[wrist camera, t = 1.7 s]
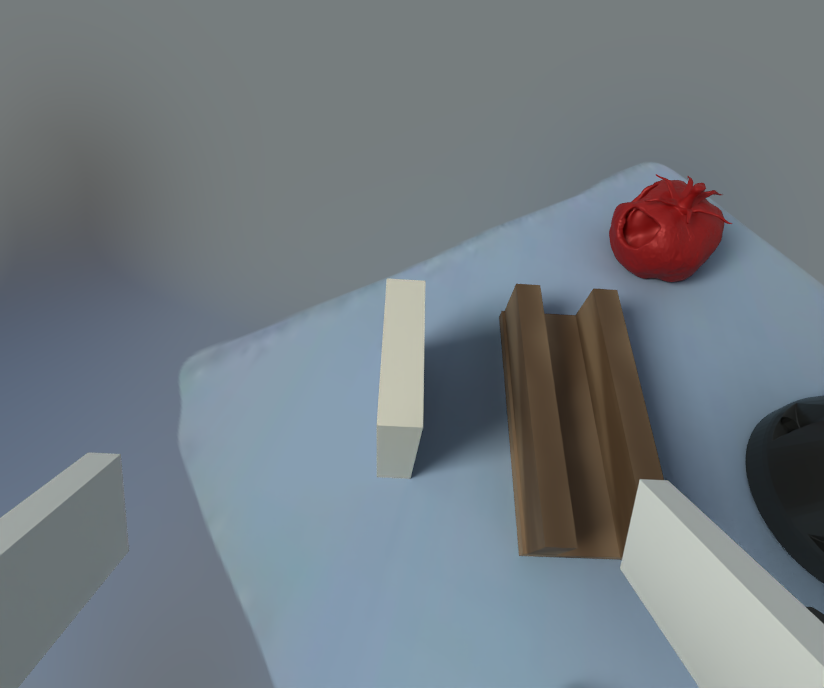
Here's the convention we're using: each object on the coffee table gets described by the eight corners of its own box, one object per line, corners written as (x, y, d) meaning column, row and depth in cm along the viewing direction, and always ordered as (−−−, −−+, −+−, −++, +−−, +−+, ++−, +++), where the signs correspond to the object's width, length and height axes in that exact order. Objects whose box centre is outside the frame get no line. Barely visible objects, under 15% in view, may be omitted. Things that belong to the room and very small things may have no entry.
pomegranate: (694, 237, 50) (758, 164, 42) (690, 307, 45) (762, 239, 37) (604, 208, 51) (650, 132, 43) (591, 273, 46) (639, 200, 38)
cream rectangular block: (413, 360, 39) (425, 280, 30) (410, 478, 34) (423, 427, 25) (384, 359, 39) (386, 278, 30) (376, 477, 34) (376, 425, 25)
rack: (595, 322, 43) (619, 290, 38) (644, 560, 32) (685, 552, 28) (499, 317, 42) (513, 283, 38) (519, 555, 32) (541, 546, 28)
